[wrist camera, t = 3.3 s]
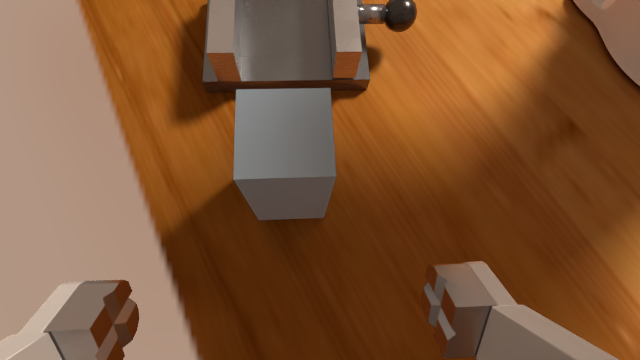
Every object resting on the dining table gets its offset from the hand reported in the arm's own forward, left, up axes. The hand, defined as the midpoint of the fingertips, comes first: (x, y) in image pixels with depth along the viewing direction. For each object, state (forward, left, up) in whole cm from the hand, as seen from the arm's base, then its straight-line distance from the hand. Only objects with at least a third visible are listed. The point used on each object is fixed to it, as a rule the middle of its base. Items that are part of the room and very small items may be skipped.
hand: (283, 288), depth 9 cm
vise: (-15, -8, -11) cm, 20 cm away
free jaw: (-18, -3, -9) cm, 20 cm away
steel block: (-5, -3, -11) cm, 12 cm away
